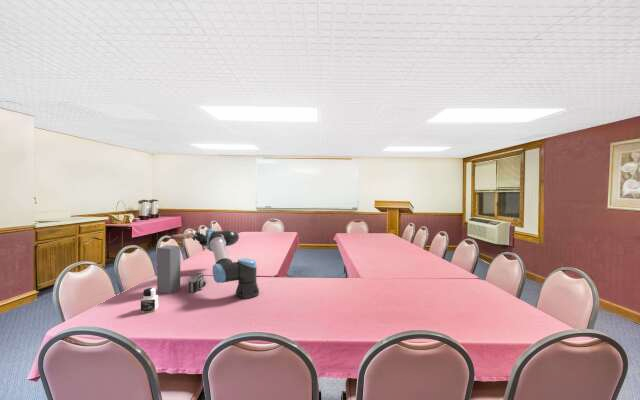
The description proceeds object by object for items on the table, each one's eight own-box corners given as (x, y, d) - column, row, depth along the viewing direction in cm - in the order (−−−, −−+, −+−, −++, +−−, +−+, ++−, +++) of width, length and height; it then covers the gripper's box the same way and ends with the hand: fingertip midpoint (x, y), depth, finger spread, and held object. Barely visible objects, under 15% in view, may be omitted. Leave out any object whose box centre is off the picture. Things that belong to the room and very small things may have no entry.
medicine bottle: (140, 312, 159) (140, 291, 158) (144, 307, 165) (144, 287, 165) (154, 311, 160) (154, 290, 160) (158, 306, 167) (158, 286, 167)
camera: (200, 292, 191) (200, 278, 191) (188, 293, 191) (188, 278, 190) (208, 286, 205) (208, 272, 205) (196, 286, 205) (196, 272, 204)
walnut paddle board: (189, 234, 224) (189, 232, 224) (201, 235, 222) (201, 232, 222) (170, 238, 204) (170, 235, 204) (184, 239, 202) (184, 236, 202)
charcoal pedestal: (167, 287, 201) (167, 245, 200) (180, 288, 199) (180, 245, 198) (157, 292, 191) (156, 248, 190) (170, 293, 189) (170, 248, 188)
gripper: (213, 246, 234) (198, 236, 213) (195, 245, 237) (178, 235, 216) (215, 238, 237) (201, 226, 217) (197, 237, 240) (181, 226, 220)
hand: (190, 231), depth 217 cm, fingers closed on walnut paddle board, 3 cm apart
